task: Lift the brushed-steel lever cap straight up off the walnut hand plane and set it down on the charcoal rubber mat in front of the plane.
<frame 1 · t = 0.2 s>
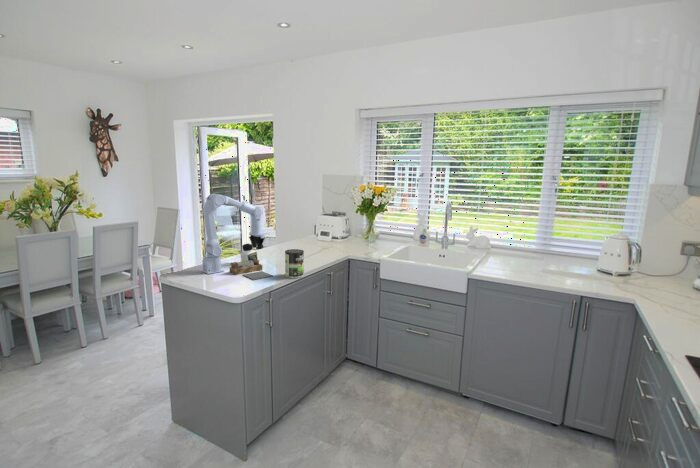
hand: (257, 248, 228), 10 cm above the table, fingers open, 5 cm apart
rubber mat: (257, 275, 205), on the table
hand plane: (246, 271, 214), on the table
lever cap: (246, 266, 213), point 3 cm above the table, touching hand plane
coffee can: (294, 275, 207), on the table
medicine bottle: (249, 262, 233), on the table, touching gripper
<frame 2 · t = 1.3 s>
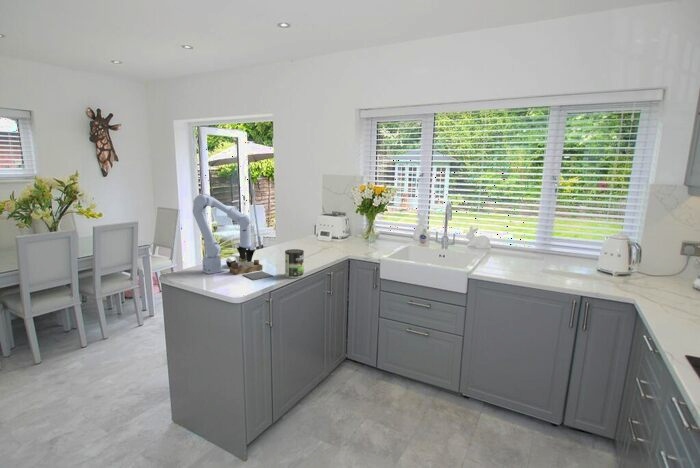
hand: (246, 260, 213), 6 cm above the table, fingers open, 7 cm apart
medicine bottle: (244, 257, 229), point 4 cm above the table
everything else where it was.
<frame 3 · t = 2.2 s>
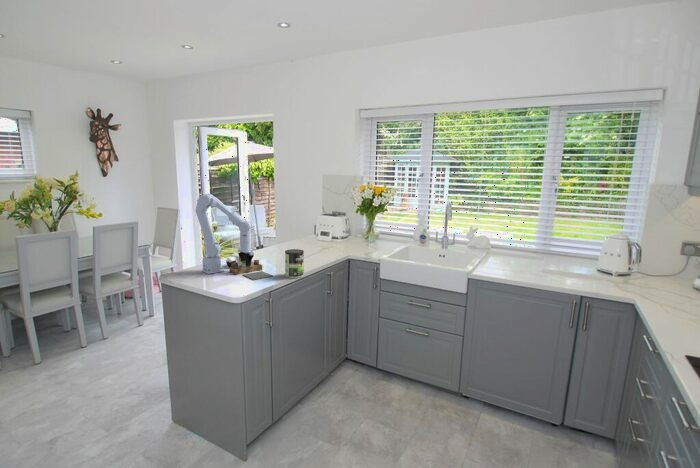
hand: (246, 265, 213), 3 cm above the table, fingers closed on lever cap, 4 cm apart
lever cap: (246, 266, 213), point 3 cm above the table, touching gripper, hand plane
everything else where it was.
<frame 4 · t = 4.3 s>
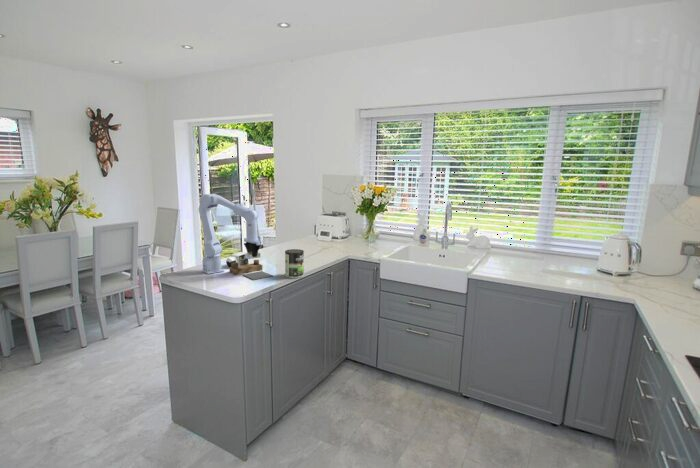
hand: (252, 256, 207), 10 cm above the table, fingers closed on lever cap, 4 cm apart
lever cap: (252, 257, 207), point 9 cm above the table, touching gripper
everything else where it was.
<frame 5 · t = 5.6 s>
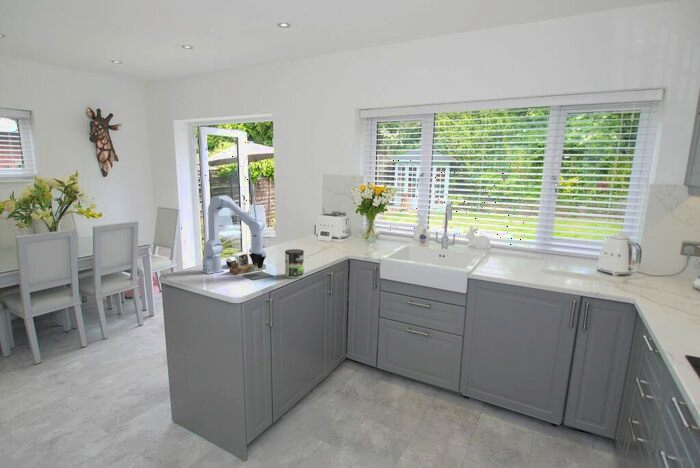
hand: (257, 267, 204), 5 cm above the table, fingers closed on lever cap, 4 cm apart
lever cap: (258, 269, 204), point 4 cm above the table, touching gripper
everything else where it was.
when the fingers open (2 cm above the table, at t = 6.6 s): lever cap stays where it is, resting on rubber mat.
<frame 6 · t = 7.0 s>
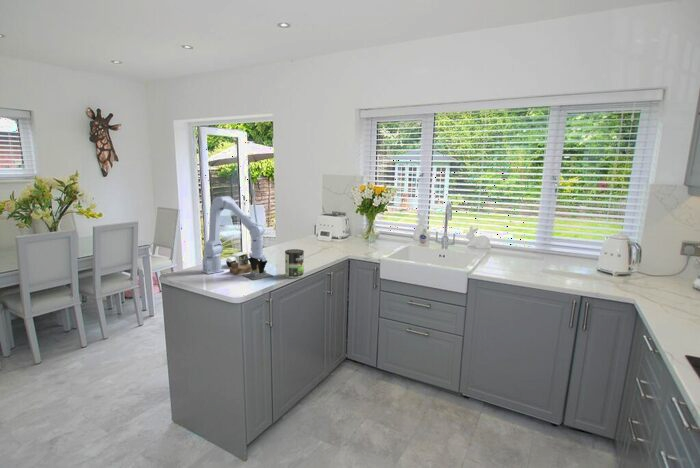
hand: (257, 271, 204), 2 cm above the table, fingers open, 7 cm apart
lever cap: (258, 275, 205), resting on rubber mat
everything else where it was.
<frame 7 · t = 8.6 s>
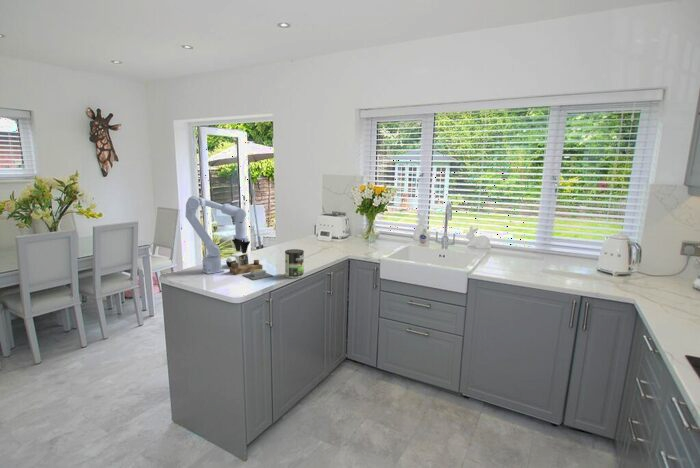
hand: (241, 252, 216), 10 cm above the table, fingers open, 7 cm apart
nothing on the table moved.
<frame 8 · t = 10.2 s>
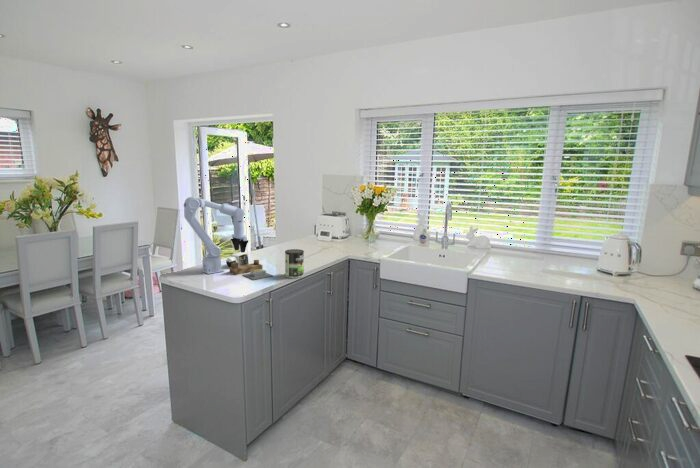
hand: (239, 251, 218), 10 cm above the table, fingers open, 7 cm apart
nothing on the table moved.
at the end: lever cap inside the target area on the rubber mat (0.2 cm from its centre), point 0.5 cm above the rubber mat's base; lever cap touching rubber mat; lever cap tilted 0° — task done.
